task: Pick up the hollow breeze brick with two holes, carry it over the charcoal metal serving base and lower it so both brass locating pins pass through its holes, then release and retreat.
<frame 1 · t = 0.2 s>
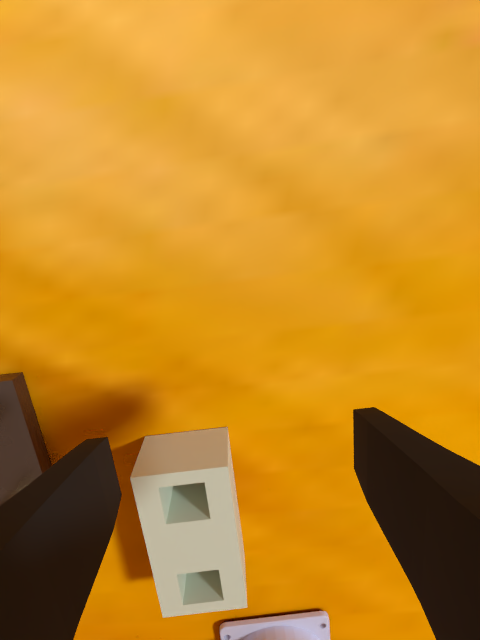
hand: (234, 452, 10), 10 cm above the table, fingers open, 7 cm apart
hollow breeze brick: (197, 498, 23), on the table
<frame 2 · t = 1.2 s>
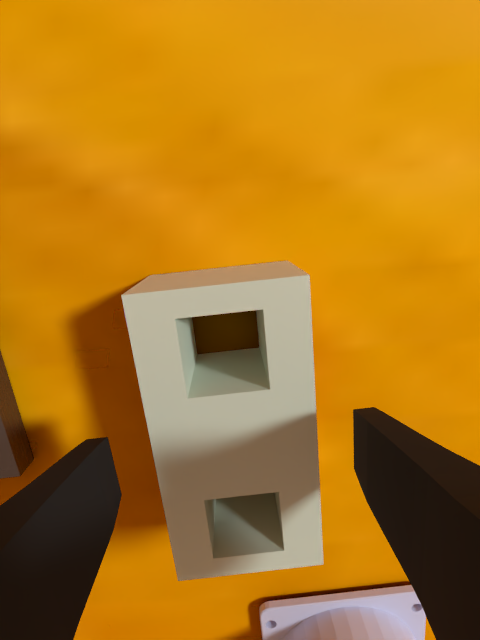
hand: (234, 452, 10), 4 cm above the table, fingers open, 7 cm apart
hollow breeze brick: (233, 392, 14), on the table
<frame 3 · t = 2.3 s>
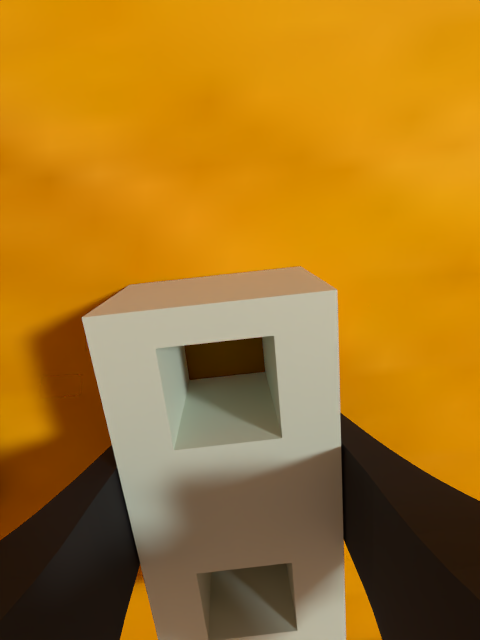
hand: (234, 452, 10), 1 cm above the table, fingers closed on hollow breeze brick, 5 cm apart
hollow breeze brick: (233, 425, 12), on the table, touching gripper
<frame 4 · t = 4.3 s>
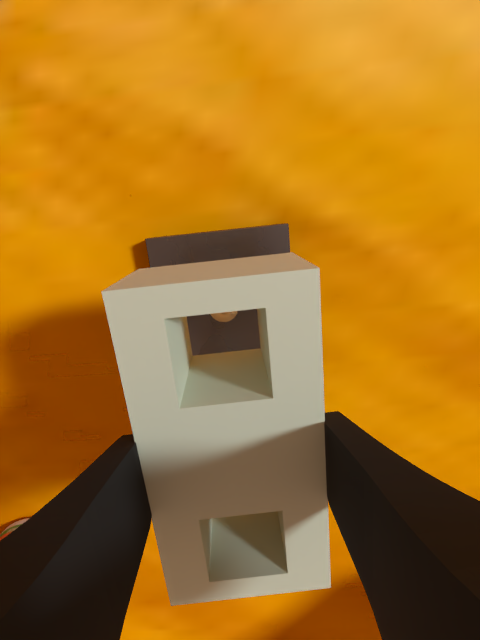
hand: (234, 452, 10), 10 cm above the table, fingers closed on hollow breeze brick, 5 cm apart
base: (230, 340, 20), on the table
hollow breeze brick: (232, 397, 13), point 7 cm above the table, touching gripper
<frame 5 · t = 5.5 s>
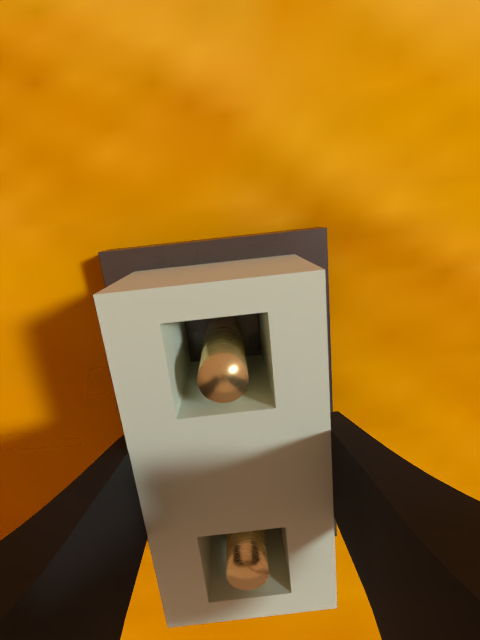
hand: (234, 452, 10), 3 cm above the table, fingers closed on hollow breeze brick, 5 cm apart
base: (233, 399, 13), on the table
hollow breeze brick: (232, 405, 12), point 1 cm above the table, touching base, gripper
when the fingers open (3 cm above the table, at t = 6.4 s): hollow breeze brick stays where it is, resting on base.
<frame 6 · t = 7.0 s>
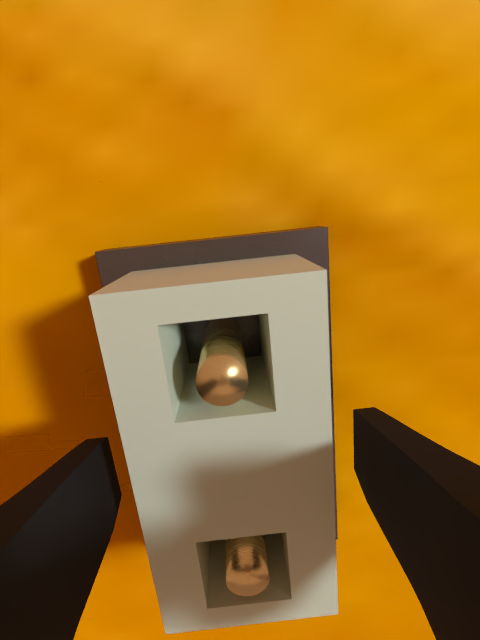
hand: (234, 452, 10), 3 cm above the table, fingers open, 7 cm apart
base: (232, 401, 13), on the table
hollow breeze brick: (231, 407, 12), point 1 cm above the table, touching base
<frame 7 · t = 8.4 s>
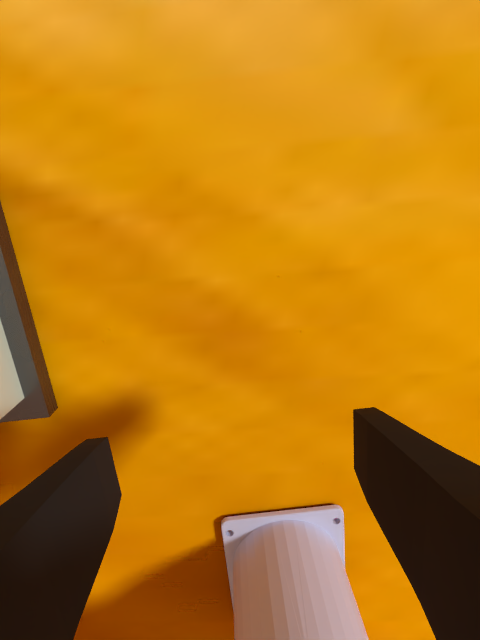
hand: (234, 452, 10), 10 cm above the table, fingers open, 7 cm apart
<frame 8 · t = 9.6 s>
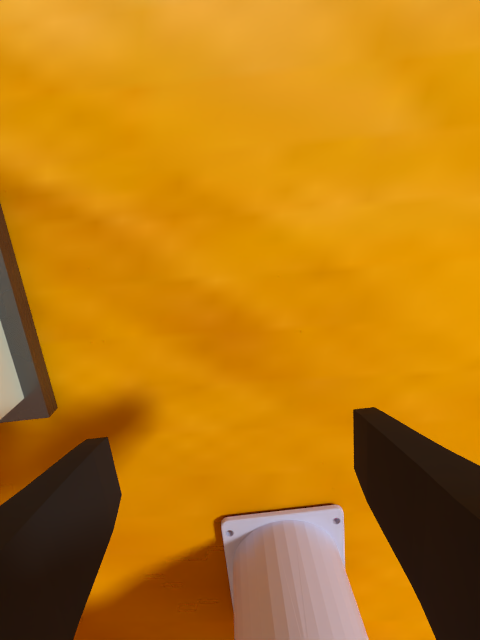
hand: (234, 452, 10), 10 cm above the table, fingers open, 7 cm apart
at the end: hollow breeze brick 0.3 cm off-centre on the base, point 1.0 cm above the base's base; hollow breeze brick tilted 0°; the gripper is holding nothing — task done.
